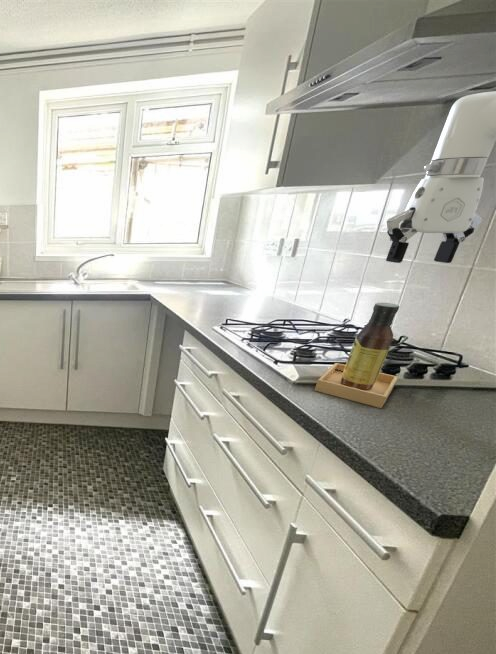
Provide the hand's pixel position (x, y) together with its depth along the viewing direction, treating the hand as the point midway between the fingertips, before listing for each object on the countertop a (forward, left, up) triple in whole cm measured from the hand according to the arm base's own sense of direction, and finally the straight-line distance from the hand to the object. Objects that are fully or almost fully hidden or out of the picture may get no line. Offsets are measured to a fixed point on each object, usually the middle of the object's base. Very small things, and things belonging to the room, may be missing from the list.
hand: (417, 262), depth 87 cm
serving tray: (+1, -1, -30) cm, 30 cm away
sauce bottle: (+1, -1, -29) cm, 29 cm away
